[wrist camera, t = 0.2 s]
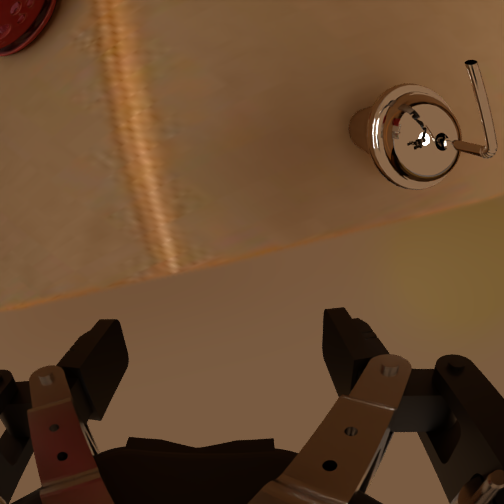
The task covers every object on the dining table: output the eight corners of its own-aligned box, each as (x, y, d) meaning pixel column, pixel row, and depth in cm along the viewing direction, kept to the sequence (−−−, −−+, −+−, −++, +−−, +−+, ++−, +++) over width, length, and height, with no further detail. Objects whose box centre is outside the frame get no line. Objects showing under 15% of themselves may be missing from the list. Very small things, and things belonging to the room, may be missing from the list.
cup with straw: (331, 169, 32) (439, 240, 13) (327, 83, 28) (442, 49, 10) (402, 168, 32) (536, 231, 14) (401, 88, 28) (545, 85, 10)
